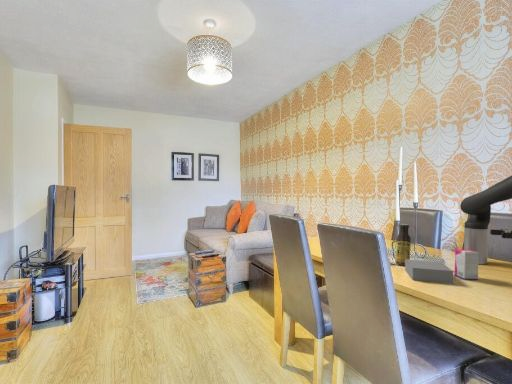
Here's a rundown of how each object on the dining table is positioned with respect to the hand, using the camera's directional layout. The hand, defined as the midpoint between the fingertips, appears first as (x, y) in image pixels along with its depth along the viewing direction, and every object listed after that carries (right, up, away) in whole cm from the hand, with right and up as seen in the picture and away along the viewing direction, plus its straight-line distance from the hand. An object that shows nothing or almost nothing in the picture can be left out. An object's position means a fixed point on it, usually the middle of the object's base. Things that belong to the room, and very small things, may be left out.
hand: (496, 233), depth 110 cm
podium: (-25, -19, +5) cm, 32 cm away
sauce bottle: (-25, -19, +23) cm, 39 cm away
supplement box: (-10, -19, +3) cm, 22 cm away
